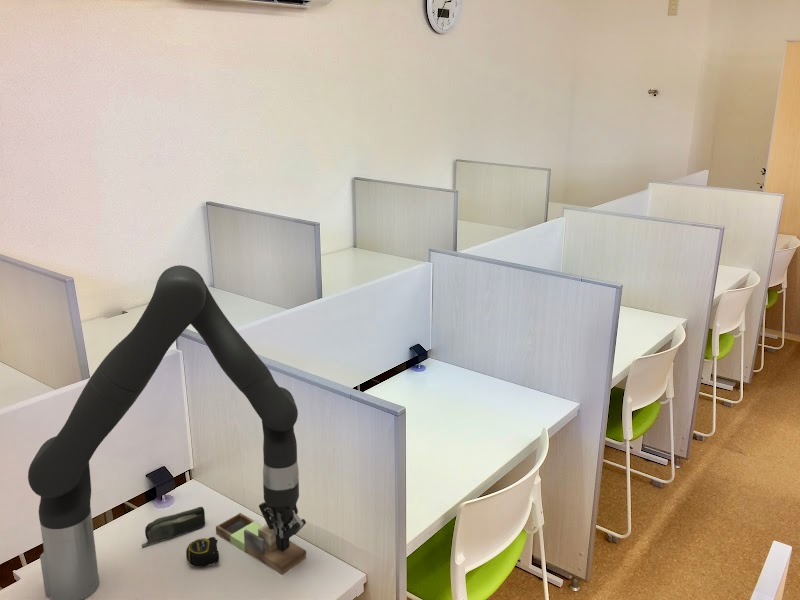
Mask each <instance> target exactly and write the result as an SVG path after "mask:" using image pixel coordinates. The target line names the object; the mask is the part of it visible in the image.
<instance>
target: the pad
mask: <svg viewBox="0 0 800 600" xmlns="http://www.w3.org/2000/svg"><path fill="white" fill-rule="evenodd" d="M262 526H263V525H262V524H261V523H259V522H257V521H255V520H254V522H252V523H250V524H249V525H247V526H245V527H244V528H242V529H240V530H238V531H237V532H235V533H233V534H232V535H230V541H231V543H230V544H232V545H233V546H235V547H236V548H238V549H239V550H242V551H243V552H245V544H244V530H248V531H250V532H251V533H253V534H255V535H257V536H258V529H259V528H260V527H262Z"/></svg>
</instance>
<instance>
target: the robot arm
mask: <svg viewBox="0 0 800 600" xmlns="http://www.w3.org/2000/svg"><path fill="white" fill-rule="evenodd" d="M190 325H191V326H192V327H193V329H195V331H196V332H197V333H198V334H199V336H200V337H201V338H202V340H203V342H204V343H205V344H206V346H207V347H208V349H209V351H210V352H211V354H212V356H213V357H214V359H215V361H216V362H217V364H218V365H219V367H220V368H221V369H222V370H223V372H224V373H225V375H226V376H227V377H228V378H229V379H230V381H231V382H232V383H233V384H234V385H235V387H237V389H238V390H239V391H240V392H241V393H242V394H243V395H244V396H245V398H246V399H247V400H248V402H249V404H250V405H251V406H252V408H253V410H254V411H255V413H256V414H257V415H258V417H259V418H260V420H261V424H262V432H263V442H262V443H263V446H262V452H263V453H262V454H263V465H262V485H263V486H262V488H263V489H262V490H263V502H262V503H259V504H258V508H259V510H260V512H261V514H262V516H263V519H264V521H265V522H266V524H267V525H268V527H269V529H273V530H274V534H275V535H276V545H277V549H278V550H280V551H281V552H283V551H285V550H286V549H288V548H289V546H290V545H289V541H290V539H291V538H292V536H296V534H298V533H299V531H300V530H301V529H302V528H303V527H304V526H305V525H306V524H307V522H306V520H305V519H304V518H302V519H301V518H300V516H299V515H298V513H299V511H298V507H297V502H298V500H299V497H300V482H299V481H300V478H299V476H300V475H299V474H300V472H299V464H298V446H297V445H298V444H297V438H296V434H295V429H294V427H295V426H294V425H296V423H297V421H298V415H299V412H298V407H297V404H296V401H295V399H294V396H293V395H292V393H291V392H290V391H289V389H287V388H284V387H282V386H280V385H278V384H277V382H276V381H275V379H274V377H273V374H272V372H271V371H270V369H269V368H268V367H267V366H266V364H265V363H264V362H263V361H262V359H261V358H260V357H259V355H258V354H257V353H256V351H254V350H253V348H252V347H251V346H250V345H249V344H248V343H247V342H246V340H245V339H244V338H243V336H241V334H240V333H239V331H238V330H237V329H236V328H235V327H234V326H233V325H232V323H231V322H230V320H229V319H228V318H227V316H226V315H225V314H224V311H222V310H221V308H220V306H219V304H218V303H217V301H216V300H215V298H214V297H213V295H212V293H211V291H210V290H209V287H208V285H207V284H206V283H205V280H204V279H203V277H202V275H201V274H200V273H199V272H198V271H197V270H196V269H194V268H193V267H190V266H188V265H180V264H179V265H173V266H170V267H168V268H166V269H165V270H164V271H162V273H161V275H160V276H159V277H158V280H157V281H156V284H155V289H154V291H153V294H152V296H151V298H150V301H149V302H148V304H147V306H146V308H145V310H144V311H143V313H142V314H141V316H140V318H139V320H138V321H137V323H136V324H135V325H134V327H133V328H132V329H131V331H130V332H129V333H128V334H127V335H126V336H125V337H124V338H123V339H122V340H121V341H119V342H118V344H116V345H115V346H114V347H113V348H112V350H110V351H109V353H108V354H107V355H106V356H105V357H104V359H103V360H102V361H101V363H99V365H98V366H97V368H96V369H95V371H94V372H93V373H92V375H91V376H90V378H89V379H88V381H87V382H86V384H85V386H84V388H83V389H82V391H81V393H80V394H79V396H78V398H77V400H76V402H75V404H74V406H73V408H72V410H71V412H70V414H69V416H68V418H67V420H66V421H65V423H64V425H63V426H62V428H61V429H60V430H59V432H58V434H57V435H56V436H52V437H51V438H49V439H47V440H46V441H45V442H43V444H42V445H41V446H40V448H39V449H38V451H37V452H36V454H35V455H34V457H33V459H32V461H31V462H30V464H29V468H28V470H27V471H28V472H27V474H28V475H27V480H28V485H29V487H30V489H31V491H32V492H33V493H35V494H36V495H37V496H39V497H40V501H39V506H38V517H39V524H40V531H41V538H42V546H43V547H42V548H43V552H42V553H41V554H40V556H39V560H40V566H41V573H42V580H43V587H44V594H45V597H50V598H51V599H52V600H84V599H86V598H89V597H90V596H91V595H92V594H94V593H95V592H96V590H97V589H98V587H99V584H100V578H99V576H100V574H99V569H98V561H97V560H98V559H97V551H96V542H95V533H94V525H93V518H92V509H91V508H92V507H91V499H92V480H91V479H92V478H91V470H90V469H91V468H90V460H91V458H92V457H93V455H94V453H95V452H96V451H97V449H98V447H99V446H100V445H101V444H102V442H103V441H104V440H105V439H106V438H107V436H108V435H109V434H110V433H111V432H112V430H114V428H116V426H117V425H118V424H119V422H120V421H122V419H123V418H124V416H125V414H127V413H128V411H129V409H131V407H132V406H133V405H134V403H135V402H136V401H137V399H138V398H139V397H140V396H141V394H142V392H143V391H144V390H145V388H146V387H147V386H148V383H149V382H150V381H151V379H152V378H153V375H154V374H155V373H156V371H157V370H158V367H159V366H160V364H161V362H162V361H163V359H164V357H165V355H166V354H167V352H168V350H169V349H170V348H171V347H172V345H173V344H174V343H175V341H177V339H178V338H179V337H180V336H181V335H182V334H183V332H185V331H186V329H187V328H188V327H189V326H190ZM270 517H271V520H270Z"/></svg>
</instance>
